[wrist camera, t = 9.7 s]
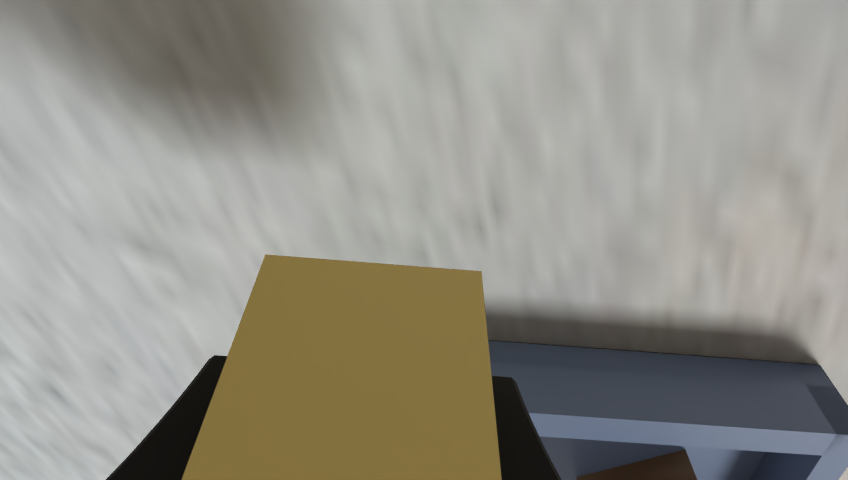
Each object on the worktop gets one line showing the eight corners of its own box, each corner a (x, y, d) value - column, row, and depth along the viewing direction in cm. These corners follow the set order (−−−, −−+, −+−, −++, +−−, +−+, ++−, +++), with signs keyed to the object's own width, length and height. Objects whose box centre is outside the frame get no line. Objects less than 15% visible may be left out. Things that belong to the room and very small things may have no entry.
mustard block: (481, 271, 12) (512, 597, 7) (457, 416, 14) (468, 741, 9) (265, 254, 12) (144, 576, 7) (274, 403, 14) (187, 728, 9)
